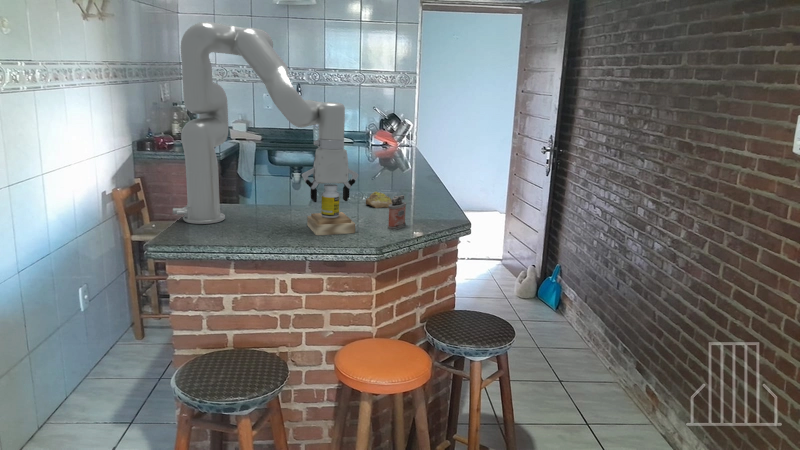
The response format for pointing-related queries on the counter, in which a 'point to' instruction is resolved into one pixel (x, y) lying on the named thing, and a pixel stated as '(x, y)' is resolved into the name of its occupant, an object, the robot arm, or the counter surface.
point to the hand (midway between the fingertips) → (329, 200)
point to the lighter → (397, 213)
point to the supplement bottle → (330, 201)
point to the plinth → (330, 224)
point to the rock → (378, 200)
